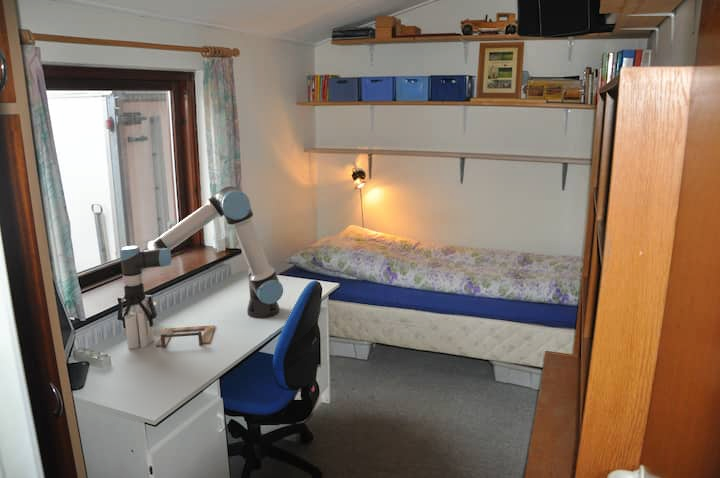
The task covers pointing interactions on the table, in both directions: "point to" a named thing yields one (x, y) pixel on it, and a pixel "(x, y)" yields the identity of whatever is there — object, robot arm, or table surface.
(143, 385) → the table surface
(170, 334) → the brown wooden stand
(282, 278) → the table surface
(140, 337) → the candle
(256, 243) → the robot arm
